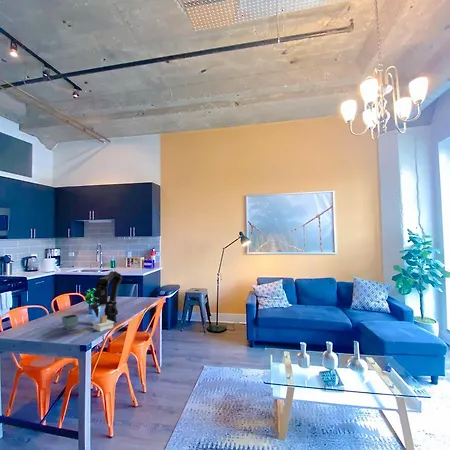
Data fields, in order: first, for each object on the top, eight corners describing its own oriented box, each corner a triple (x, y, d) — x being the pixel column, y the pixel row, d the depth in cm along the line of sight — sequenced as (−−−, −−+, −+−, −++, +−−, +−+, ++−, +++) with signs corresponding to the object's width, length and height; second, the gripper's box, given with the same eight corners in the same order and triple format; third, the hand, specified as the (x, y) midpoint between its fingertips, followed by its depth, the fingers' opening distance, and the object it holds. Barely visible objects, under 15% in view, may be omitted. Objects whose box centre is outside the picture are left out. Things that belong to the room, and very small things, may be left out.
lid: (106, 320, 213) (106, 313, 213) (114, 322, 206) (114, 315, 207) (92, 323, 204) (92, 316, 204) (100, 326, 197) (100, 319, 198)
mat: (85, 327, 208) (85, 327, 208) (94, 331, 200) (94, 330, 200) (67, 332, 197) (67, 332, 197) (76, 336, 190) (76, 335, 190)
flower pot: (73, 325, 213) (73, 314, 213) (78, 328, 208) (78, 316, 208) (61, 328, 206) (61, 316, 207) (66, 331, 201) (66, 318, 201)
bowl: (105, 325, 212) (106, 320, 212) (113, 328, 206) (113, 322, 206) (93, 329, 204) (93, 323, 204) (100, 332, 198) (100, 326, 198)
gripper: (109, 291, 218) (109, 311, 217) (85, 296, 203) (85, 317, 203) (117, 293, 212) (116, 313, 211) (93, 297, 197) (93, 319, 196)
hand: (103, 316), depth 205 cm, fingers open, 9 cm apart
